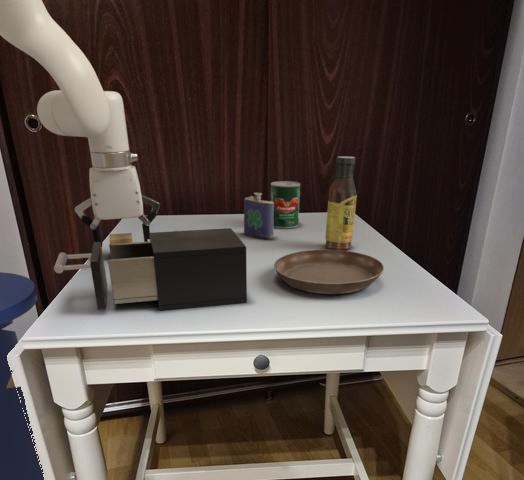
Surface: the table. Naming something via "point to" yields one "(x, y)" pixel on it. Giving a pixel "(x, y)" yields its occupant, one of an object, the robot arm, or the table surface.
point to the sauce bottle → (341, 206)
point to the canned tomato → (285, 204)
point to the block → (121, 238)
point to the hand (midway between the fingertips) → (123, 244)
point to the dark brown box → (199, 268)
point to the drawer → (119, 272)
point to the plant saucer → (328, 271)
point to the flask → (258, 217)
